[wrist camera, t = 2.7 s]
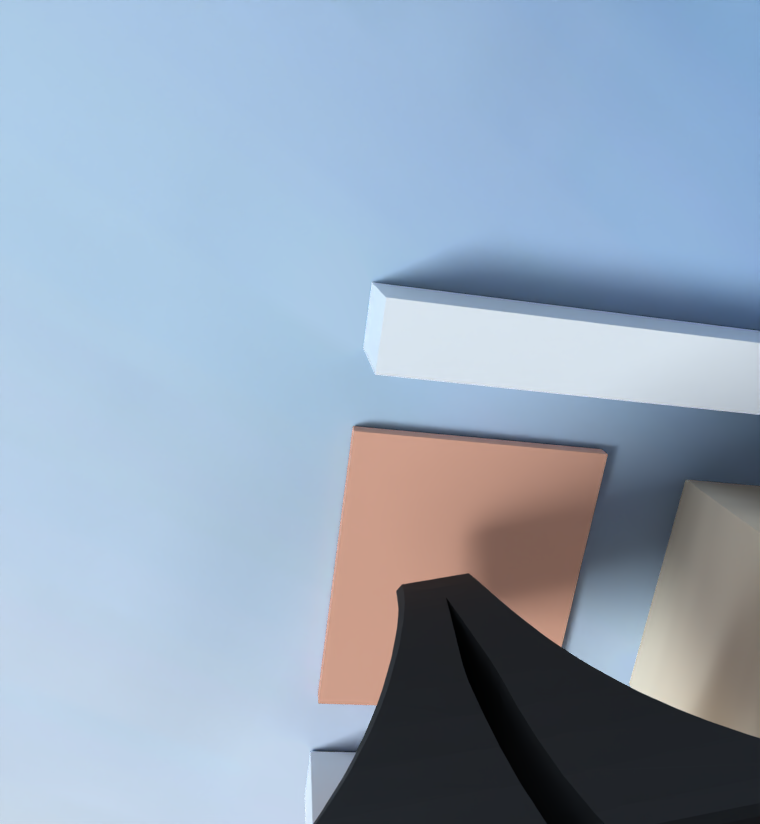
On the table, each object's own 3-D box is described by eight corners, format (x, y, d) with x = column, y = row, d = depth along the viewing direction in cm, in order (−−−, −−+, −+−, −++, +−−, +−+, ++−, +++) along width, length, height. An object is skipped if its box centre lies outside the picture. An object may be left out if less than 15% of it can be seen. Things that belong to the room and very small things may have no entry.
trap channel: (1113, 375, 15) (1235, 401, 13) (925, 802, 18) (1000, 874, 16) (372, 282, 12) (385, 297, 10) (304, 795, 15) (306, 879, 14)
